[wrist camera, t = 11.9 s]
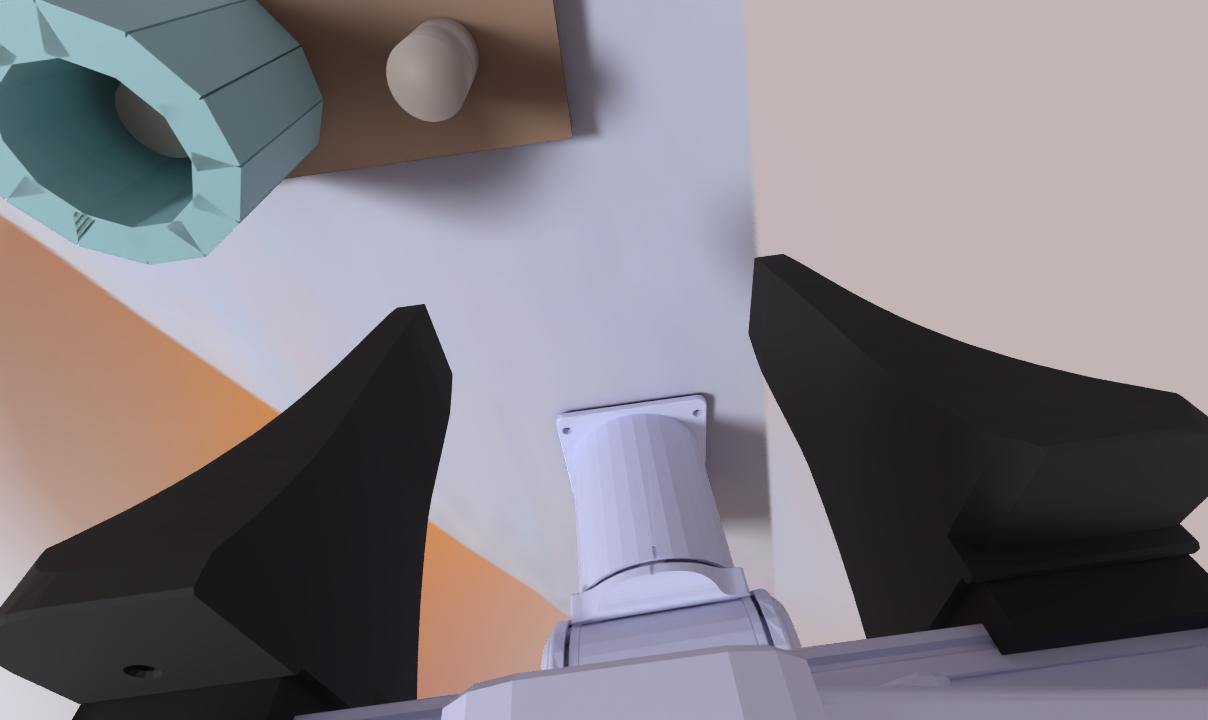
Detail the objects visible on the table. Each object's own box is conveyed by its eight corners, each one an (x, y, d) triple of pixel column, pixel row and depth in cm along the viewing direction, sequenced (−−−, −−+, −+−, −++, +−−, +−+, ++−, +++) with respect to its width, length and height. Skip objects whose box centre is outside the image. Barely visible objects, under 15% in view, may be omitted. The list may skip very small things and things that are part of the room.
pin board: (571, 129, 19) (576, 176, 16) (187, 183, 19) (110, 241, 16) (540, -88, 15) (538, -89, 12) (61, -18, 15) (-79, 0, 12)
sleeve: (350, 163, 18) (284, 245, 14) (189, 185, 18) (70, 275, 14) (265, -39, 15) (138, -19, 10) (66, -11, 15) (-151, 23, 10)
